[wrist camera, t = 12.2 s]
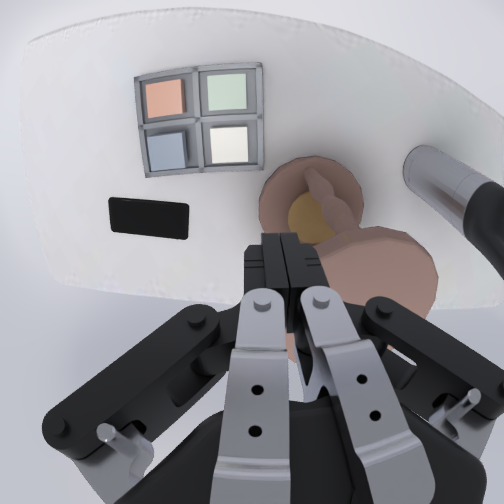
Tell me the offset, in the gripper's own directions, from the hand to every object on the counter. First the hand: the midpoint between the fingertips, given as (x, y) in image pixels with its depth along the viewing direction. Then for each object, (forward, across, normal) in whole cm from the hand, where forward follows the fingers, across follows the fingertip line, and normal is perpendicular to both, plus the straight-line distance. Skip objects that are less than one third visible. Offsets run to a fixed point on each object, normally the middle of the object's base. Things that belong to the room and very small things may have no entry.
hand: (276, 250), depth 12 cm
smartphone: (+32, +19, +13) cm, 39 cm away
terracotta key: (+29, +12, -7) cm, 33 cm away
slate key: (+28, +12, +1) cm, 31 cm away
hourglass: (+31, -9, +12) cm, 35 cm away
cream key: (+30, +4, +1) cm, 30 cm away
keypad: (+31, +8, -3) cm, 32 cm away
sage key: (+30, +4, -7) cm, 31 cm away
